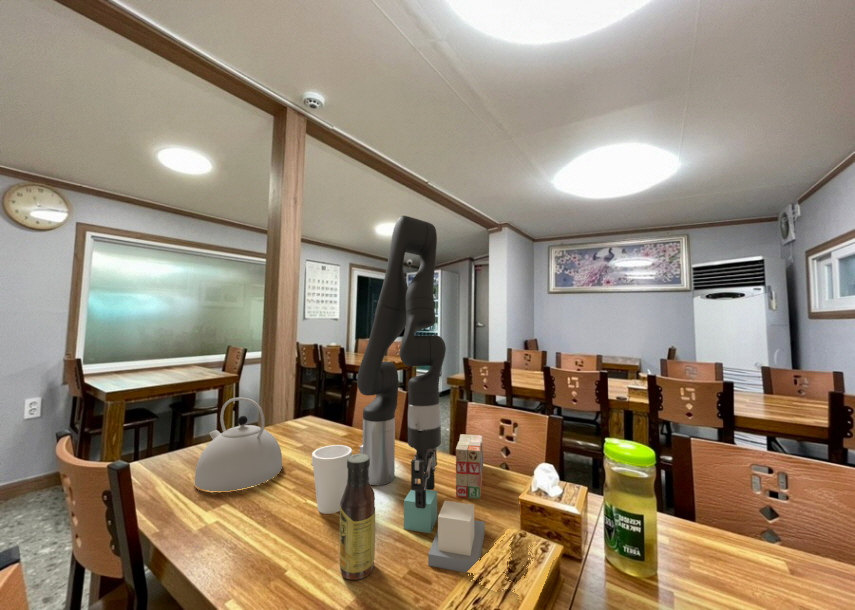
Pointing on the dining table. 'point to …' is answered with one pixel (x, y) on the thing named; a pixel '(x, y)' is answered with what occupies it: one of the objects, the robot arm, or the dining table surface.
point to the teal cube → (420, 512)
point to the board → (458, 560)
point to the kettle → (238, 456)
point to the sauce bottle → (357, 521)
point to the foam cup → (330, 476)
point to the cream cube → (456, 528)
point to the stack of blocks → (469, 466)
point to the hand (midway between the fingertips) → (425, 497)
